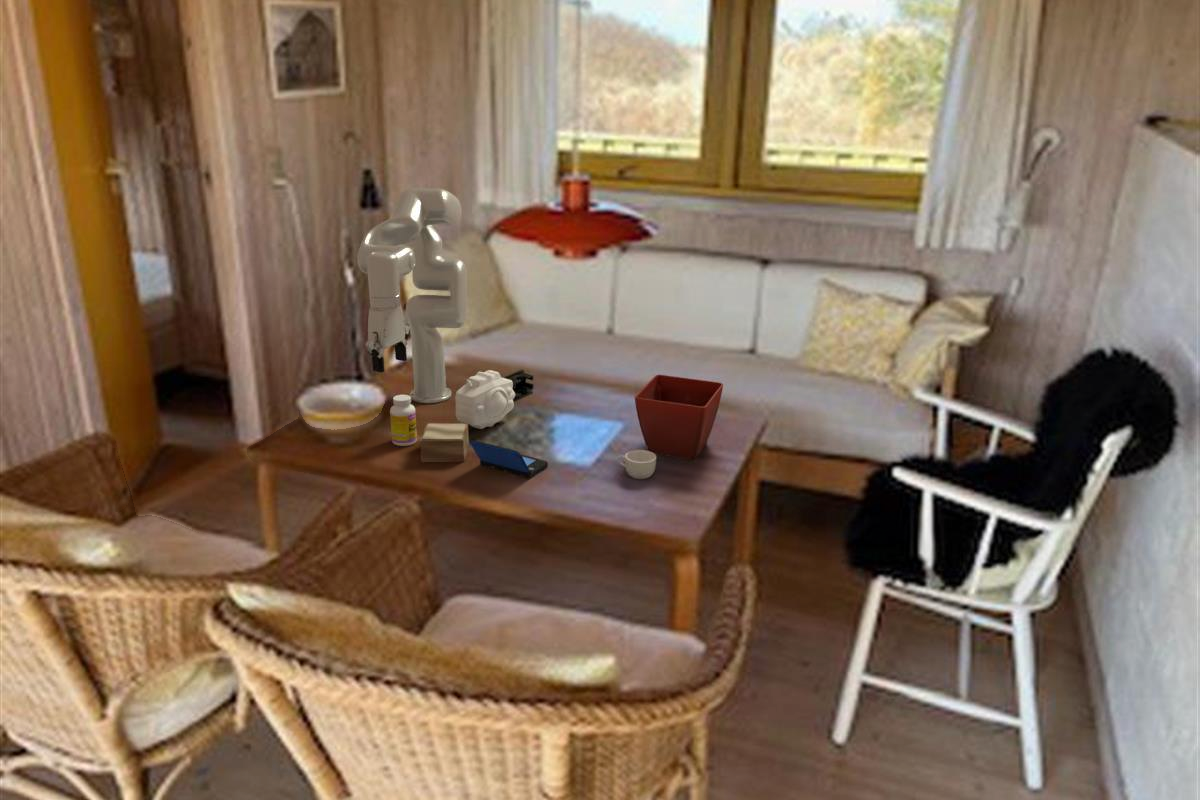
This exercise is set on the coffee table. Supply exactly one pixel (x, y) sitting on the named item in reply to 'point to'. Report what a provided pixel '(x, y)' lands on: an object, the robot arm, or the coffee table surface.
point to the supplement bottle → (403, 421)
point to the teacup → (639, 463)
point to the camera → (484, 399)
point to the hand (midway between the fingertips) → (390, 365)
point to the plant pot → (677, 414)
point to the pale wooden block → (444, 443)
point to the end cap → (520, 384)
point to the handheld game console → (507, 460)
